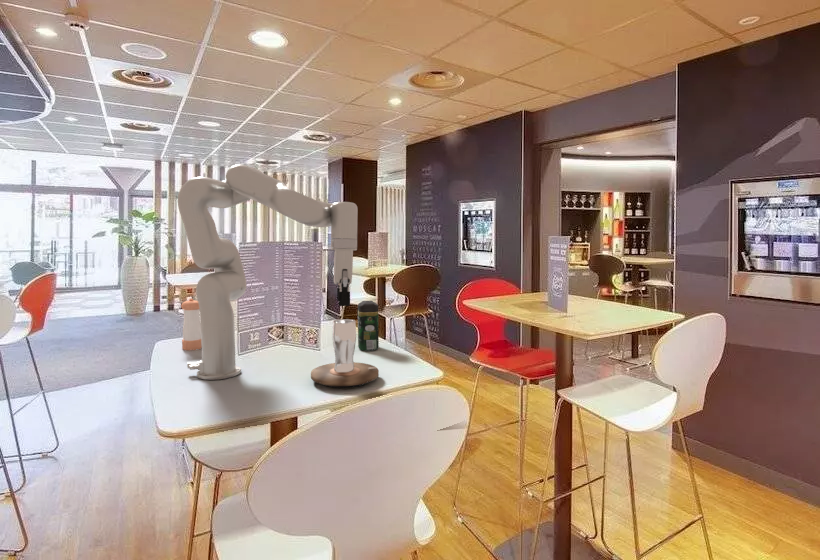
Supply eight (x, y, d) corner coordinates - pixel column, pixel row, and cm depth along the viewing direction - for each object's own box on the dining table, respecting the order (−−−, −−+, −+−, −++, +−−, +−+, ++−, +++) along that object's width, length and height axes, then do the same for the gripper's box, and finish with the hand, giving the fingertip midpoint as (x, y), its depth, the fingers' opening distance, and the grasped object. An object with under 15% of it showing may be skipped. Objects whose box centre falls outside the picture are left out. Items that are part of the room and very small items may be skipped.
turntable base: (321, 389, 127) (321, 384, 127) (321, 374, 140) (321, 370, 140) (371, 386, 129) (371, 381, 129) (366, 372, 143) (366, 367, 143)
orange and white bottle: (207, 347, 174) (205, 298, 172) (189, 351, 168) (187, 300, 166) (196, 345, 178) (194, 296, 176) (178, 348, 172) (176, 298, 170)
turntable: (310, 387, 123) (310, 381, 123) (311, 367, 143) (311, 361, 142) (382, 383, 127) (382, 377, 127) (374, 364, 147) (374, 359, 146)
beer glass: (351, 374, 130) (351, 323, 129) (329, 373, 132) (328, 322, 130) (359, 368, 137) (359, 319, 136) (337, 366, 139) (337, 318, 137)
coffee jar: (357, 346, 178) (356, 299, 177) (377, 345, 180) (377, 299, 178) (358, 352, 169) (358, 303, 167) (379, 351, 170) (379, 302, 168)
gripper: (330, 244, 139) (329, 299, 141) (331, 245, 122) (331, 308, 124) (354, 244, 140) (353, 299, 142) (359, 246, 124) (358, 307, 125)
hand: (343, 303), depth 133 cm, fingers open, 9 cm apart
